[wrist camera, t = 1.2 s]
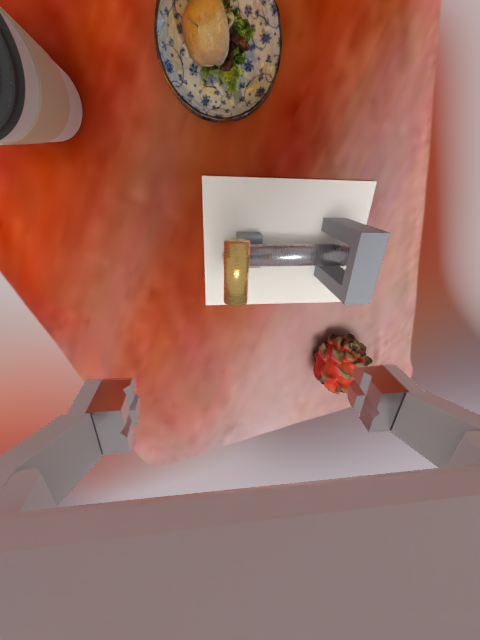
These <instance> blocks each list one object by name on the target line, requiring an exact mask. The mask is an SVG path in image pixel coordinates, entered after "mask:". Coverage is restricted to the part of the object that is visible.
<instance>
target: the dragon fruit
mask: <svg viewBox="0 0 480 640" xmlns="http://www.w3.org/2000/svg"><path fill="white" fill-rule="evenodd" d="M336 336H337V333H330V335H329V336H328V339H327V343H326V345H325V343H321V345H320V346H318V347H319V350H318V351H317V352H316V353H315V351H314V353H313V356H314V357H315V358H316V363H315V365H314V369H313V370H314V375H315V377H316V379H317V380H319V381H320V382H321V383H322V384H324V386H325V387H326V388H327V389H328V390H329V391H331V392H333V393H336V394H339V392H343V393H347V390H348V386H349V384H350V383H351V382H352V381H353V380H354V379H353V377H352V376H351V375H352V371H353V369H354V368H355V367H360V366H368V365H369V364H371V363H372V362H373V361H372V359H371V358H370V357H368V356H366V353H365V351H366V346H364V345H363V344H362V343H359V342H358V341H357V340H355V338H354V336H353V335H352V334H348V335H344V336H342V337H341V336H339V337H336Z"/></svg>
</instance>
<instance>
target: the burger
mask: <svg viewBox="0 0 480 640" xmlns="http://www.w3.org/2000/svg"><path fill="white" fill-rule="evenodd" d="M154 34H155V42H156V50H157V57H158V59H159V61H160V64H161V69H162V71H163V74H164V76H165V79H166V81H167V83H168V85H169V86H170V88H171V90H172V92H173V93H174V95H175V96H176V97H177V98H178V100H179V101H180V102H181V103H182V105H184V106H185V107H186V108H187V109H188V110H189V111H190V112H192V113H193V114H195V115H197V116H198V117H200V118H202V119H205V120H207V121H210V120H212V121H213V122H214V121H215V122H214V123H216V122H217V121H223V120H229V119H234V118H235V121H237V120H240V119H242V118H245V117H246V116H247V115H249V114H250V113H252V112H253V111H254V110H255V109H257V107H258V106H259V105H260V104H261V103H262V102H263V101H264V100H265V99H266V97H267V96H268V94H269V92H270V91H271V89H272V86H273V83H274V79H275V76H276V73H277V71H278V68H279V64H280V57H281V47H282V41H281V24H280V15H279V9H278V7H277V4H276V2H275V0H157V3H156V9H155V27H154ZM211 118H212V119H211ZM212 121H210V122H212ZM229 121H231V120H229ZM224 122H225V121H224Z"/></svg>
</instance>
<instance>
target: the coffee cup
mask: <svg viewBox="0 0 480 640" xmlns="http://www.w3.org/2000/svg"><path fill="white" fill-rule="evenodd" d="M82 115H83V112H82V103H81V99H80V96H79V94H78V91H77V89H76V87H75V85H74V84H73V82H72V81H71V79H70V78H69V76H68V75H67V74H66V73H65V72H64V71H63V70H62V69H61V68H60V67H59V66H58V65H57V64H56V63H55V62H54V61H53V60H52V59H51V57H50V56H49V55H48V54H47V53H46V52H45V50H44V49H43V48H42V47H41V46H40V45H39V44H38V43H37V42H36V41H35V40H34V39H33V38H32V37H31V36H30V35H29V34H28V33H27V32H26V31H25V30H24V29H23V28H22V27H21V26H20V25H19V24H18V23H17V22H16V21H15V20H14V19H13V18H12V17H11V16H10V15H9V14H8V13H7V12H6V11H5V10H4V9H3V8H2V7H1V6H0V145H13V144H39V143H46V142H62V141H66V140H68V139H70V138H71V137H73V136H74V135H75V134H76V133H77V131H78V130H79V128H80V125H81V122H82Z"/></svg>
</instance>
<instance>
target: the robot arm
mask: <svg viewBox="0 0 480 640" xmlns="http://www.w3.org/2000/svg"><path fill="white" fill-rule="evenodd" d="M351 376H352V377H353V379H354V380H353V381H352V382H351V383H350V384H349V386H348V390H347V394H348V400H349V402H350V405H351V406H352V408H353V409H354V410H356V411H357V412H359V413H360V416H359V418H360V420H361V421H362V423H363V424H364V426H365V427H366V429H367V430H368V432H382V431H391V433H392V434H394V435H395V436H397V437H398V438H399V439H401V440H402V441H403V442H405V443H406V444H407V445H409V446H410V447H411V448H413V449H414V450H416V451H417V452H418V453H419V454H421V455H422V456H424V457H425V458H426V459H428V460H429V461H430V462H432V463H433V464H434V465H436V466H437V467H438V468H435V469H425V470H415V471H406V472H396V473H387V474H377V475H368V476H357V477H348V478H339V479H329V480H319V481H309V482H300V483H290V484H280V485H271V486H261V487H251V488H241V489H232V490H223V491H213V492H203V493H193V494H184V495H174V496H165V497H155V498H145V499H135V500H126V501H116V502H107V503H98V504H87V505H78V506H69V507H58V508H57V506H58V504H59V503H60V502H61V501H62V500H63V499H64V498H65V497H66V496H67V495H68V494H69V492H70V491H71V490H72V489H73V488H74V487H75V486H76V485H77V484H78V483H79V481H81V479H82V478H83V477H84V476H85V475H86V474H87V473H88V472H89V471H90V470H91V469H92V467H93V466H94V465H95V464H96V463H97V462H98V461H99V460H100V459H101V458H102V455H107V454H116V453H125V452H130V450H131V446H132V443H133V439H134V435H135V434H134V429H133V428H134V427H135V426H136V425H137V424H138V420H139V414H140V401H139V397H138V396H137V395H136V394H135V392H136V389H137V384H136V380H135V379H134V378H111V379H89V380H87V381H86V382H85V383H84V385H83V387H82V388H81V390H80V392H79V394H78V395H77V397H76V399H75V400H74V402H73V404H72V405H71V407H70V409H69V411H68V412H67V414H66V415H60V416H59V417H57V418H56V419H55V420H53V421H51V422H50V423H48V424H47V425H45V426H44V427H42V428H41V429H39V430H38V431H37V432H35V433H33V434H32V435H30V436H29V437H27V438H26V439H25V440H23V441H22V442H20V443H19V444H17V445H16V446H14V447H13V448H11V449H10V450H8V451H7V452H5V453H4V454H2V455H1V456H0V640H480V415H479V414H476V413H474V412H472V411H470V410H467V409H465V408H463V407H461V406H459V405H457V404H454V403H452V402H450V401H448V400H445V399H443V398H441V397H439V396H437V395H435V394H432V393H430V392H428V391H423V390H422V389H420V388H419V387H418V386H417V385H416V384H415V383H414V382H413V381H412V380H411V379H410V378H409V377H408V376H407V375H406V374H405V373H404V372H403V371H402V370H400V369H399V368H398V367H397V366H396V365H393V364H386V365H378V366H360V367H355V368H354V369H353V371H352V375H351Z"/></svg>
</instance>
